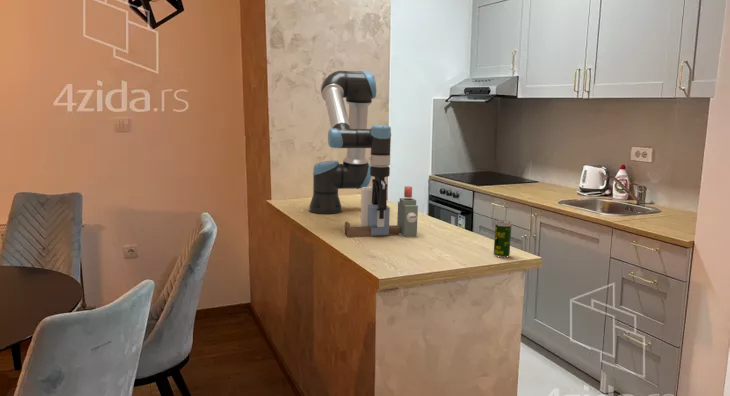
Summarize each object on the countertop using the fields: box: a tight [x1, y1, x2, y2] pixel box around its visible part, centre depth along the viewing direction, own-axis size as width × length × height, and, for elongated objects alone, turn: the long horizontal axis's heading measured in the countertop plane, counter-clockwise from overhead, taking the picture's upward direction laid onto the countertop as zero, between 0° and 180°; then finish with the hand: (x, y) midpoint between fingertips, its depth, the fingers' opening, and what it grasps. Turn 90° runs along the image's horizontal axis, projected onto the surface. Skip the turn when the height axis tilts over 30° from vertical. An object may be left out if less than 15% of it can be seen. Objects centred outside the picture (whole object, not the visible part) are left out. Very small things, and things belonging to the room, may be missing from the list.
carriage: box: [368, 205, 391, 237], centre depth 217 cm, size 6×7×11 cm
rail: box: [344, 221, 401, 238], centre depth 217 cm, size 5×21×5 cm, turn 103°
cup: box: [360, 186, 373, 226], centre depth 231 cm, size 8×8×16 cm
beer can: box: [493, 219, 512, 258], centre depth 190 cm, size 5×5×12 cm
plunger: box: [403, 185, 413, 198], centre depth 218 cm, size 3×3×4 cm
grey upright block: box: [396, 197, 419, 238], centre depth 219 cm, size 11×5×14 cm, turn 13°
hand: (378, 224), depth 218 cm, fingers closed on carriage, 6 cm apart
